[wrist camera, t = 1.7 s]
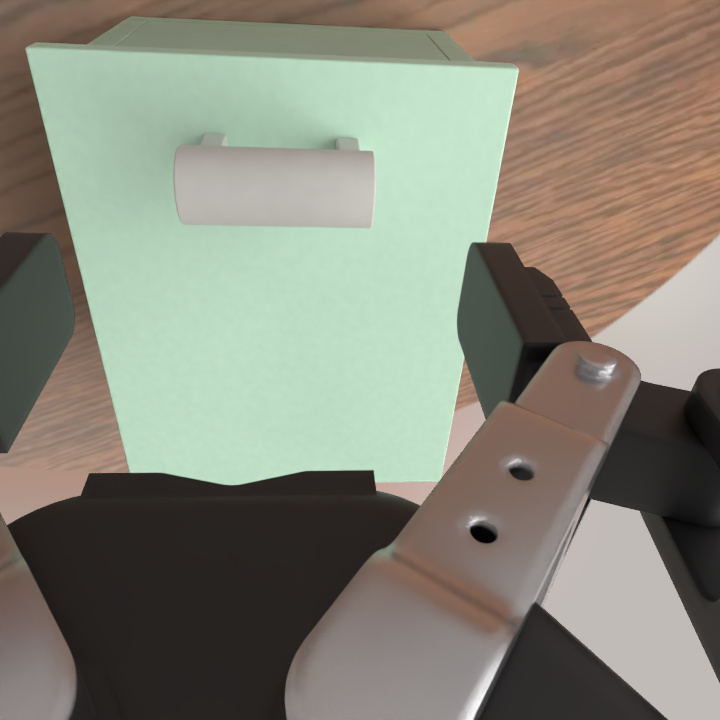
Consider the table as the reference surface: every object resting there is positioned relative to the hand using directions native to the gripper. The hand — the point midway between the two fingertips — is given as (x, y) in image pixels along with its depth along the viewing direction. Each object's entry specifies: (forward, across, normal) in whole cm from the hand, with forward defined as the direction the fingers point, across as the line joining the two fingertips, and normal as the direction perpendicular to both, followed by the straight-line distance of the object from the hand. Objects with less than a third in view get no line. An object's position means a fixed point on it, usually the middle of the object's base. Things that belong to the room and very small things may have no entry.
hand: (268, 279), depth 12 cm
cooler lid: (+9, 0, +6) cm, 11 cm away
